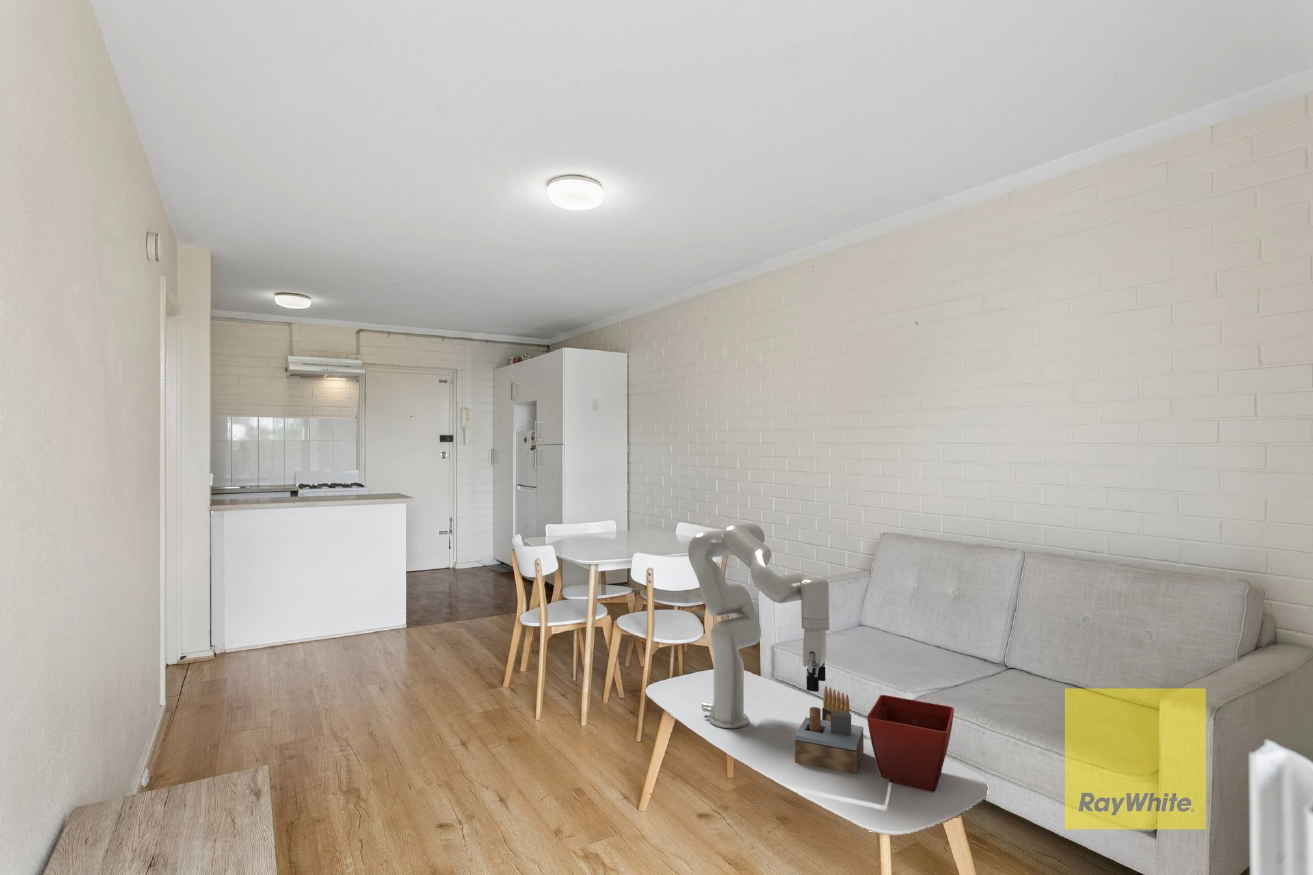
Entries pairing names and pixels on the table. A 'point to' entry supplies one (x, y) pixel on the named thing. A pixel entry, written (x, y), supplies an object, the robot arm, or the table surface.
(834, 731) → the toolbox lid
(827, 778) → the table surface
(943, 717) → the plant pot
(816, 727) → the brown rounded cylinder
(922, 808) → the table surface
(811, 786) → the table surface
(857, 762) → the brown hollow box
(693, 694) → the table surface
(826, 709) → the ammunition clip
